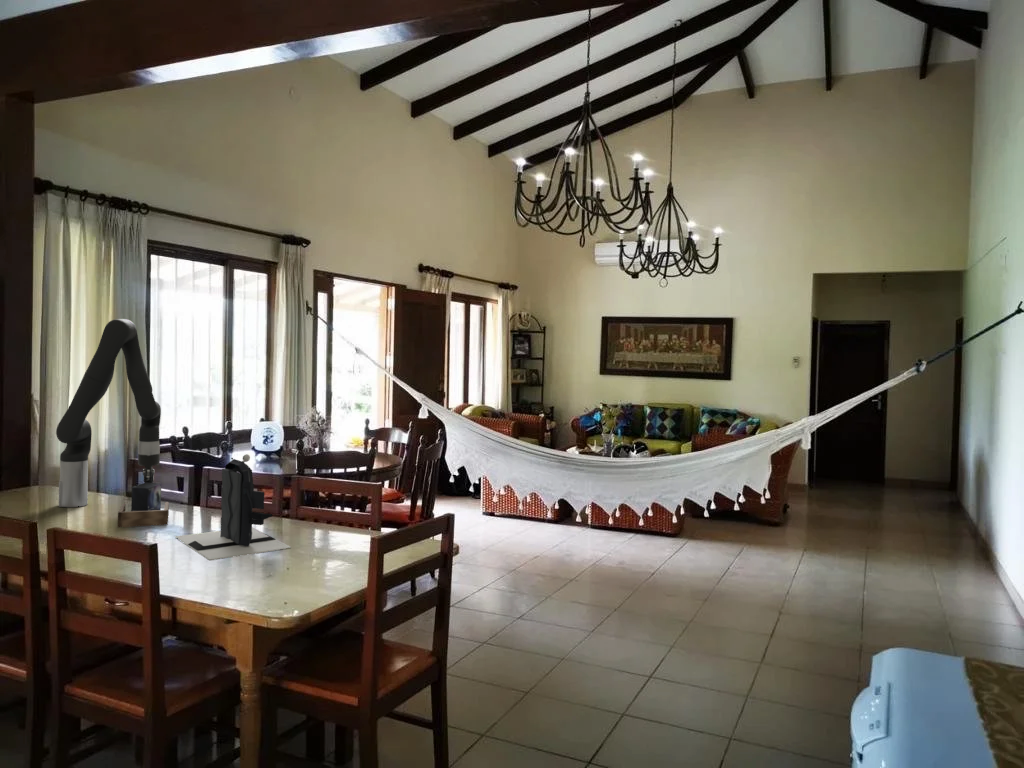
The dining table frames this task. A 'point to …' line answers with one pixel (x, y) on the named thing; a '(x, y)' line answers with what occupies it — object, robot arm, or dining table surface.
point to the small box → (146, 497)
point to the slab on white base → (236, 518)
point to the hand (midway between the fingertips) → (148, 497)
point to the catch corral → (143, 517)
